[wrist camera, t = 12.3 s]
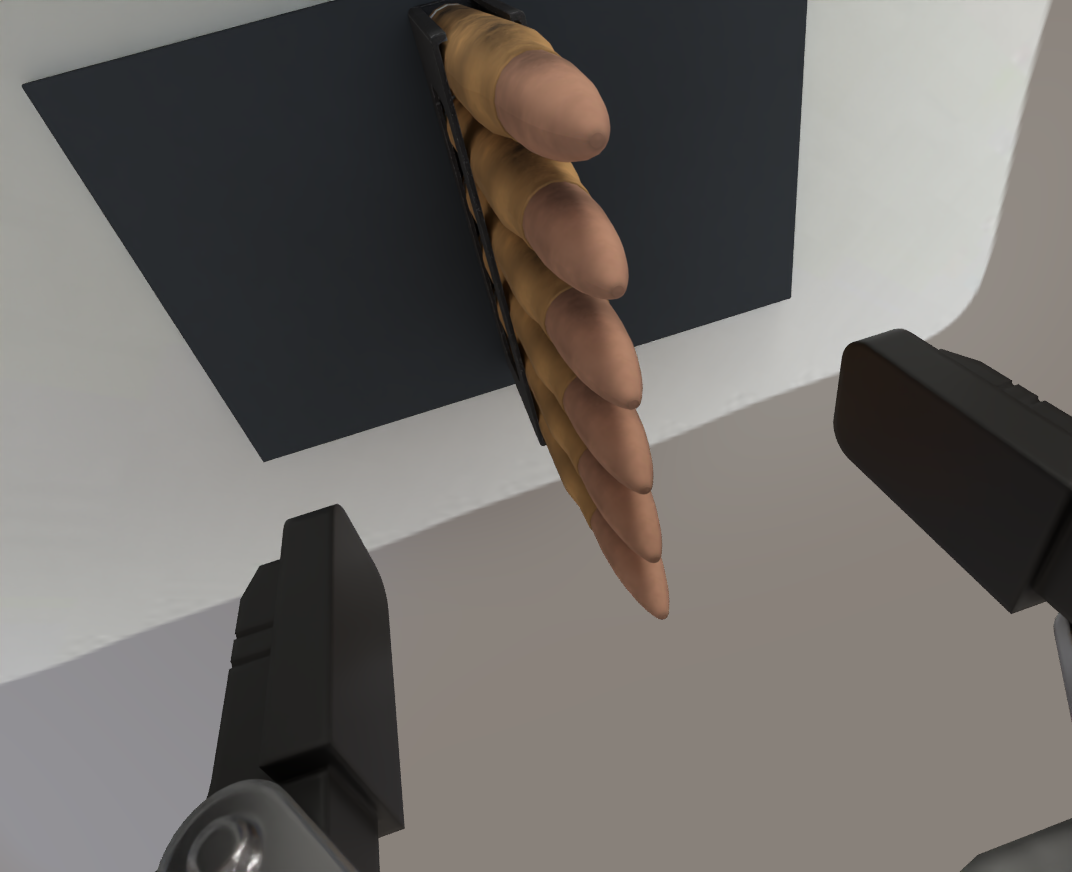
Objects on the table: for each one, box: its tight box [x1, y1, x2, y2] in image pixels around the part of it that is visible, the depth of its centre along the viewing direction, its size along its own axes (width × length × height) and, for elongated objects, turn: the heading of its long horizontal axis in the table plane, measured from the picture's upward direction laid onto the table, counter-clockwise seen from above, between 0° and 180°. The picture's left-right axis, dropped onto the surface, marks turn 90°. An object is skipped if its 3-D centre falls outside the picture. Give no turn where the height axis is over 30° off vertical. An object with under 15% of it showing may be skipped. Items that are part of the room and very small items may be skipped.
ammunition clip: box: [408, 0, 669, 620], centre depth 14 cm, size 11×2×12 cm, turn 12°
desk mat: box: [22, 0, 807, 462], centre depth 19 cm, size 20×12×1 cm, turn 102°
